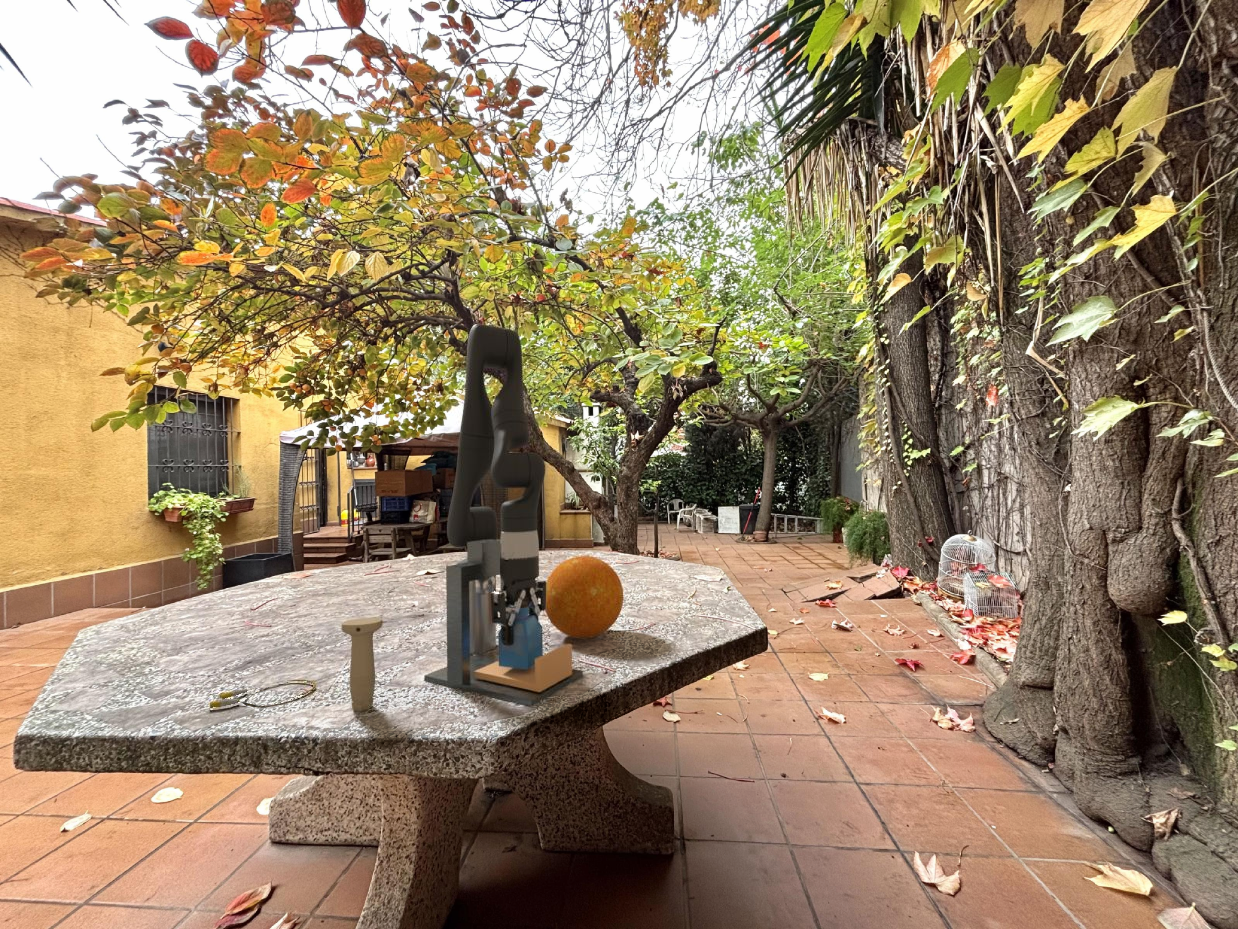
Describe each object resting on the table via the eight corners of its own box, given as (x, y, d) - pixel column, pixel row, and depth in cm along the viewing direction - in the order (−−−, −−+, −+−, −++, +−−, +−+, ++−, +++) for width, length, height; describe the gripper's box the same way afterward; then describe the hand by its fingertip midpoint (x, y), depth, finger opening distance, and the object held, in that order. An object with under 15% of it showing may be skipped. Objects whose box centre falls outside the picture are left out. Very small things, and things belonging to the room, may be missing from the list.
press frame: (422, 681, 105) (421, 543, 106) (484, 656, 119) (482, 535, 120) (529, 707, 91) (527, 549, 92) (584, 675, 106) (581, 539, 107)
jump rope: (242, 688, 104) (242, 678, 104) (326, 683, 106) (326, 673, 106) (200, 715, 92) (200, 703, 92) (295, 709, 94) (295, 698, 94)
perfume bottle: (542, 658, 105) (541, 597, 106) (527, 669, 99) (526, 604, 100) (515, 655, 107) (514, 596, 108) (498, 666, 101) (497, 602, 102)
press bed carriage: (474, 677, 102) (473, 647, 103) (509, 661, 111) (508, 634, 111) (539, 692, 95) (539, 659, 95) (572, 674, 103) (571, 644, 103)
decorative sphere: (545, 628, 142) (543, 552, 142) (619, 624, 144) (618, 550, 145) (542, 651, 122) (541, 563, 123) (629, 646, 124) (627, 560, 125)
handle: (347, 704, 94) (346, 619, 95) (385, 701, 95) (385, 616, 96) (338, 716, 89) (337, 626, 90) (378, 712, 91) (378, 623, 91)
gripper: (528, 548, 112) (529, 628, 112) (478, 557, 100) (479, 647, 99) (556, 550, 108) (558, 632, 108) (509, 560, 96) (510, 653, 95)
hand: (520, 639), depth 103 cm, fingers closed on perfume bottle, 6 cm apart
